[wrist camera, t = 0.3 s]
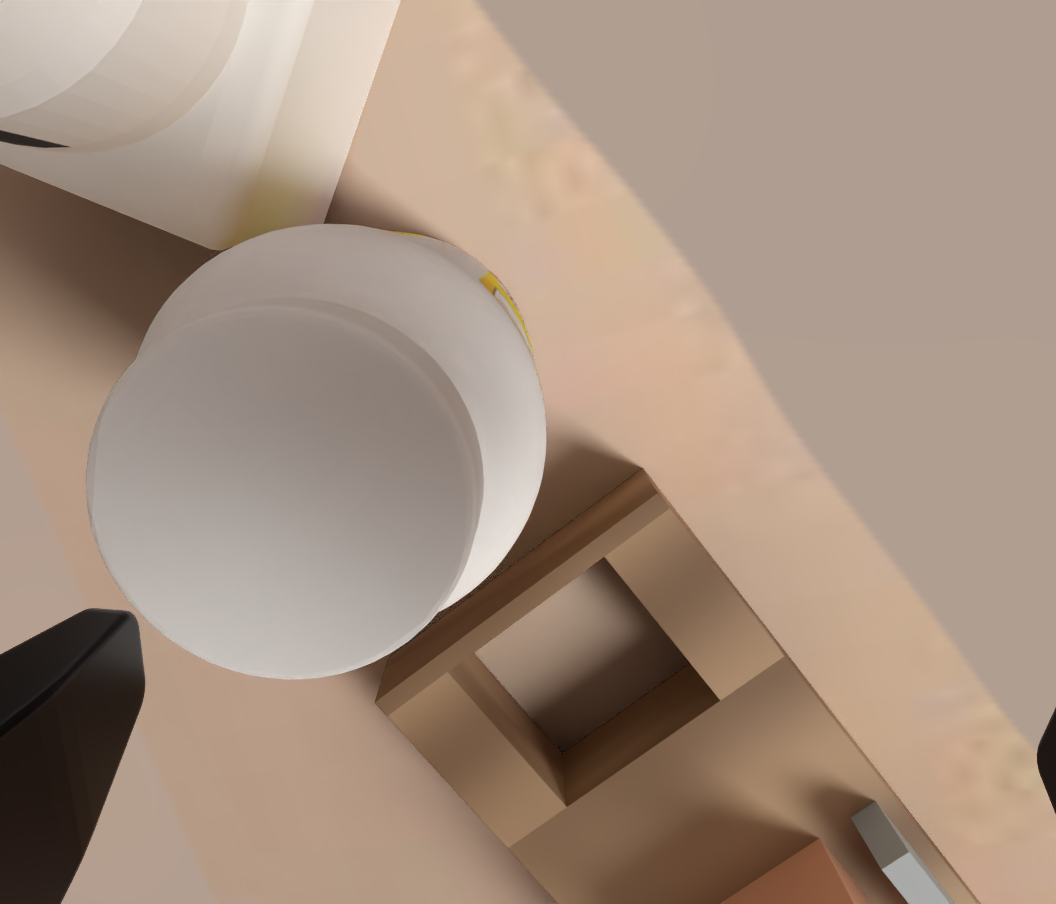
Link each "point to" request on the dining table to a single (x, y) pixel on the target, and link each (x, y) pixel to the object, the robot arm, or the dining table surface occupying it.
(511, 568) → the tray
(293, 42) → the medicine bottle
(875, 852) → the grey u-shaped piece
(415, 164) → the dining table surface
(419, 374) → the supplement bottle
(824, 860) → the block
